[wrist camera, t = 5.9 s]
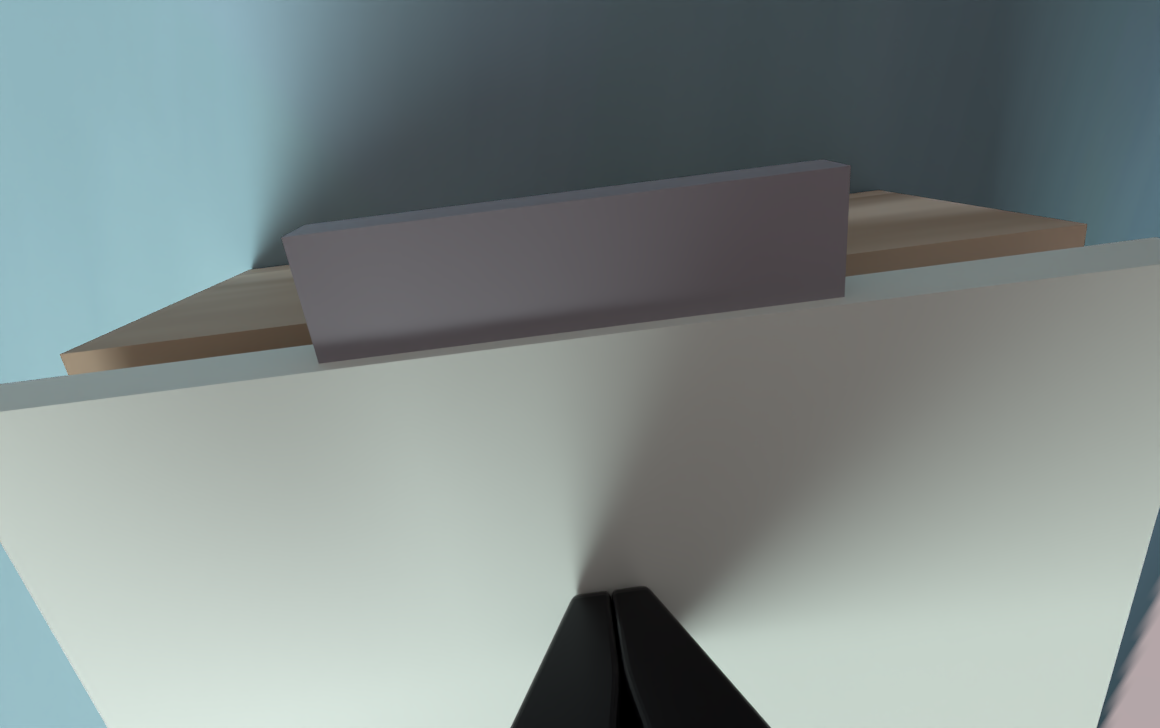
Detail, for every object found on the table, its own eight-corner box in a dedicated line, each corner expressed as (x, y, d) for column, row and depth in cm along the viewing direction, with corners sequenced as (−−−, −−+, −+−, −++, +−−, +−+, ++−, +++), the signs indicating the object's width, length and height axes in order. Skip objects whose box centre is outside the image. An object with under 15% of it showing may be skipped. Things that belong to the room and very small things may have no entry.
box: (858, 736, 17) (978, 968, 12) (404, 795, 17) (349, 1050, 12) (879, 190, 12) (1087, 223, 7) (249, 270, 12) (59, 354, 7)
